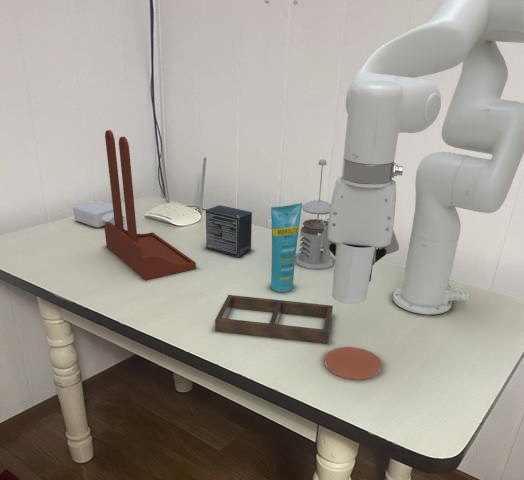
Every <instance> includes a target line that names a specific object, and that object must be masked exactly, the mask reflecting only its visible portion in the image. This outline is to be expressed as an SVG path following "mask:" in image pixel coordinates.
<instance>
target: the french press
mask: <svg viewBox="0 0 524 480" xmlns="http://www.w3.org/2000/svg"><path fill="white" fill-rule="evenodd" d="M327 163H328V162H327V160H326V159H323V158H322V159H319V160H318V166H321V170H320V182H319V192H318V193H319V195H318V199H314V200H311V201H308V202H306V203H304V204H302V209H301V210H302V211H303V212H305V213H306V214H307V213H308V214H310V215H311V214H312V215H317V217H316V218H312V219H311V218H310V219H307V220H303V222H302V225H303V226H302V227H301V228H300V237H301V238H300V239H299V242H300V243H299V247H300V248H299V254H298V255H297V256H296V257H295V264H297V265H299V267H303V268H307V269H314V270H315V269H316V270H322V269H328V268H330V267H332V266H334V264H335V261H334V260H333V259H332V258H331V253H332V252H331V251H330V250H329V249H328V248H325V247H324V246H322V245H320V244H319V243H318V240H319V237H320V236H321V234H322V232H323V231H324V229H325V228H326V226H327V225H328V222H329V217H328V218H327V219H326V220H325V219H323V218H320V219H319V215H321V216H323V215H330V208H331V202H328V201H325V200H321V192H322V191H321V190H322V180H323V168H324V167H323V166H327Z"/></svg>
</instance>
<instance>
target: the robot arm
mask: <svg viewBox="0 0 524 480" xmlns="http://www.w3.org/2000/svg"><path fill="white" fill-rule="evenodd" d="M497 42H499V43H500V42H501V43H518V44H519V43H521V44H524V0H441V1H440V2H439V4H438V5H437V6H436V8H435V9H434V10H433V12H432V13H431V15H430V16H429V17H428V18H427V20H426V21H425V22H424V23H423V24H421V25H418V26H416V27H414V28H412V29H410V30H408V31H406V32H404V33H402V34H401V35H398V36H397V37H394V38H393V39H391V40H389V41H387V42H386V43H384V44H383V45H381V46H379V47H378V48H377V49H376V50H374V51H373V52H372V53H371V54H370V55H369V56H368V57H367V59H366V60H365V62H364V63H363V64H361V67H360V68H359V70H357V72H356V74H355V75H354V77H353V78H352V81H351V82H350V85H349V87H348V89H347V92H346V97H345V110H346V113H347V119H346V127H345V128H346V130H345V140H344V149H343V159H342V167H341V169H342V170H341V175H338V176H337V177H336V180H335V183H334V187H333V191H332V197H331V202H330V204H331V208H330V214H328V215H329V216H328V218H329V220H328V225H327V226H326V228H325V229H324V231H323V232H322V234H320V237H319V240H318V243H319V244H320V245H321V246H324V247H325V248H328V249H329V250H330V251H331V252H330V253H332V255H333V256H334V257H335V256H336V244H339V243H342V244H344V245H347V246H348V245H353V246H364V247H372V246H373V247H375V251H374V256H373V261H372V265H371V266H372V269H371V274H370V278H369V281H370V282H371V281H372V274H373V267H374V265H375V264H376V263H377V262H378V261H380V260H381V259H382V258H384V257H385V256H386V255H390V254H394V253H395V252H398V251H399V250H400V245H399V241H398V239H397V236H396V233H395V231H394V226H395V216H396V206H397V204H396V203H397V202H396V201H397V184H396V183H397V181H396V180H394V179H395V177H397V176H403V172H404V166H403V165H398V164H397V163H396V162H395V158H396V153H397V152H396V151H397V145H398V140H399V139H398V138H399V134H400V133H402V134H403V133H404V134H416V133H417V134H418V133H420V132H424V131H425V130H427V129H428V128H429V127H431V126H432V125H433V124H434V122H435V121H436V120H437V117H438V116H439V113H440V111H441V108H442V96H441V92H440V90H439V88H438V86H437V85H436V84H434V82H433V81H431V80H428V79H425V78H420V77H425V76H429V75H434V74H438V73H443V72H445V71H448V70H451V69H453V68H455V67H457V66H459V65H460V64H461V63H462V65H461V72H460V75H459V78H458V81H457V84H456V87H455V89H454V92H453V95H452V98H451V100H450V103H449V105H448V109H447V112H446V114H445V117H444V120H443V123H442V128H441V139H442V141H443V142H444V143H445V144H446V145H448V146H449V147H452V148H455V149H460V150H464V151H470V152H476V153H482V154H487V155H488V154H489V155H492V156H491V158H490V159H488V158H484V157H483V158H482V157H477V156H472V155H467V154H462V153H456V152H449V151H435V152H432V153H429V154H427V155H426V156H424V157H423V158H422V160H420V162H419V164H418V166H417V169H416V171H415V172H416V173H415V174H416V175H415V184H414V185H415V205H414V214H413V220H412V227H411V232H410V238H409V243H408V250H407V256H406V260H405V267H404V272H403V277H402V278H403V279H402V285H401V287H398V288H397V289H395V290H394V291H393V294H392V300H393V302H394V304H395V305H397V306H398V307H399V308H401V309H403V310H405V311H408V312H411V313H414V314H420V315H428V316H429V315H430V316H431V315H440V314H444V313H446V312H448V311H450V310H451V308H452V305H453V301H454V300H455V301H460V302H469V301H470V297H471V295H470V294H471V293H470V292H467V291H463V288H462V287H460V288H459V287H452V286H451V285H450V281H451V276H452V270H453V267H454V266H453V265H454V261H455V256H456V253H457V248H458V245H459V244H458V243H459V239H460V234H461V219H460V216H459V213H458V211H457V208H458V209H463V210H467V211H472V212H477V213H481V214H493V213H495V212H497V211H498V210H500V208H501V207H502V205H503V204H504V203H505V201H506V199H507V197H508V194H509V192H510V190H511V186H512V184H513V181H514V179H515V176H516V173H517V171H518V169H519V166H520V163H521V161H522V159H523V156H524V102H521V101H517V100H510V99H502V95H503V91H504V90H505V87H506V84H507V81H508V77H509V71H508V70H509V69H508V67H507V64H506V60H505V58H504V56H503V54H502V53H501V51H500V49H499V47H498V45H497ZM393 178H394V179H393ZM376 248H377V249H376Z"/></svg>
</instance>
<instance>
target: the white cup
mask: <svg viewBox="0 0 524 480" xmlns="http://www.w3.org/2000/svg"><path fill="white" fill-rule="evenodd" d="M376 249H378V248H376ZM374 251H375V247H373V246H372V247H364V246H353V245H348V246H347V245H344V244H342V243H339V244H336V256H334V263H333V277H332V278H333V279H332V290H331V298H333V299H334V300H335V301H337V302H339V303H342V304H346V305H359V304H363V303H364V302H365V301H366V300H367V295H368V291H369V286H370V282H371V281H369V278H370V274H371V269H372V270H373V268H372V266H371V265H372V261H373V256H374Z"/></svg>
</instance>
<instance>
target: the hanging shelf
mask: <svg viewBox="0 0 524 480" xmlns="http://www.w3.org/2000/svg"><path fill="white" fill-rule="evenodd" d="M104 133H105V134H104V138H105V139H104V141H105V147H106V157H107V159H106V160H107V167H108V175H109V176H108V177H109V185H110V194H111V204H112V205H113V213H114V222H115V225H113V224H112V223H111V222H106V226H103V227H104V236H105V244H106V249H108V250H109V251H110V252H112V253H113V254H114V255H115V256H116V257H117V258H119V259H120V260H121V261H122V262H124V264H126V265H127V266H128V267H129V268H130V269H131V270H132V271H134V272H135V273H136V274H137V275H139V276H140V277H141V278H142V279H143V280H144V281H149V280H153V279H158V278H161V277H166V276H170V275H175V274H179V273H184V272H188V271H193V270H196V269H197V262H196V261H195V260H193V259H192V258H191V257H189V256H187V255H186V254H185V253H184V252H182V251H181V250H179V249H177V248H176V247H174V246H173V245H172V244H170V243H169V242H167V241H166V240H165V239H163V238H162V237H161V236H159V235H157V234H156V233H155V232H153V231H152V232H147V233H138V231H137V219H136V210H135V209H136V208H135V198H134V188H133V187H134V185H133V176H132V166H131V154H130V153H131V151H130V143H129V142H128V139H127V137H126V136H119V138H118V151H119V159H120V160H119V161H120V170H121V180H122V191H123V200H124V201H123V202H124V209H125V210H124V211H125V219H126V228H125V227H124V221H123V216H124V215H123V208H122V207H123V206H122V198H121V188H120V187H121V186H120V180H119V169H118V168H119V167H118V160H117V159H118V158H117V150H116V149H117V148H116V140H115V135H114V133H113V131H112V130H111V129H107V130H105V132H104Z"/></svg>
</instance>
